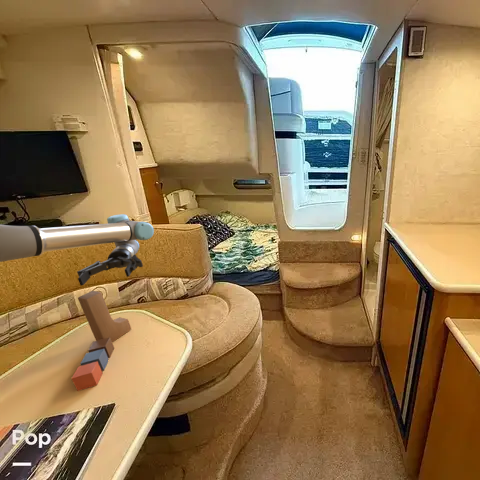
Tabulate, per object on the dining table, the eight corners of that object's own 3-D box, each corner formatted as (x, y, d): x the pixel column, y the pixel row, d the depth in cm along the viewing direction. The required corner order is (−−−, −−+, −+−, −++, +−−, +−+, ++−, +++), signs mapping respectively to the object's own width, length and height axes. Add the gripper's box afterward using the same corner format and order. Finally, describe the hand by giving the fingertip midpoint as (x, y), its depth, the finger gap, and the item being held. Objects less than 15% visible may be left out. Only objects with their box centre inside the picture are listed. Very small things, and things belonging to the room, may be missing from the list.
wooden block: (123, 327, 97) (106, 283, 90) (132, 329, 95) (115, 284, 89) (97, 344, 89) (76, 297, 82) (106, 346, 87) (86, 299, 81)
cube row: (97, 385, 73) (91, 372, 71) (77, 391, 71) (71, 378, 70) (114, 348, 86) (110, 337, 85) (98, 352, 85) (93, 341, 83)
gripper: (157, 258, 118) (147, 278, 99) (88, 271, 110) (64, 295, 91) (152, 242, 115) (141, 260, 97) (81, 254, 107) (55, 275, 88)
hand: (104, 277), depth 94 cm, fingers open, 13 cm apart
